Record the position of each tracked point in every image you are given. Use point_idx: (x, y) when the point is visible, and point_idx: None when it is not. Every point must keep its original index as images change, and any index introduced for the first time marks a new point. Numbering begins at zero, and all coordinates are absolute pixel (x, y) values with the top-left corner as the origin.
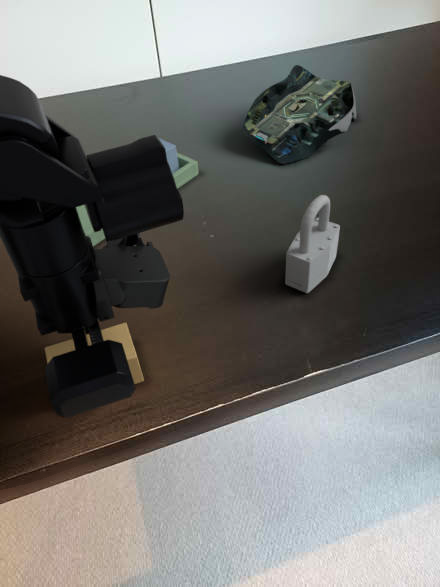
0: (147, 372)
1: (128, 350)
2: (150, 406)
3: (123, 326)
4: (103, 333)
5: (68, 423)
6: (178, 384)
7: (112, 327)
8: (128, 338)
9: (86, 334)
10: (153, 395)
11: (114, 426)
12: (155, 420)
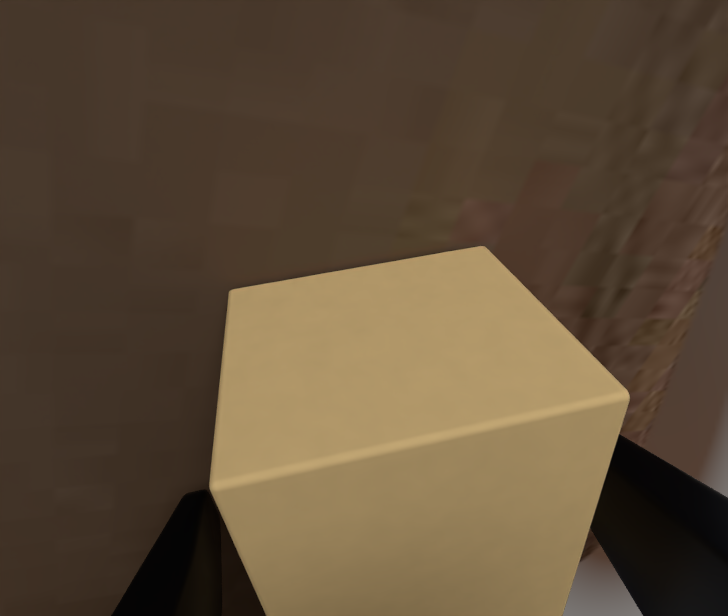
0: (433, 222)
1: (541, 452)
2: (629, 225)
3: (262, 501)
4: (300, 592)
5: None
6: (595, 41)
7: (255, 561)
8: (420, 460)
9: (207, 585)
10: (583, 204)
11: (625, 363)
12: (706, 209)
